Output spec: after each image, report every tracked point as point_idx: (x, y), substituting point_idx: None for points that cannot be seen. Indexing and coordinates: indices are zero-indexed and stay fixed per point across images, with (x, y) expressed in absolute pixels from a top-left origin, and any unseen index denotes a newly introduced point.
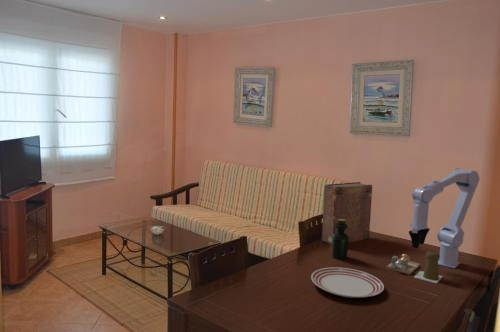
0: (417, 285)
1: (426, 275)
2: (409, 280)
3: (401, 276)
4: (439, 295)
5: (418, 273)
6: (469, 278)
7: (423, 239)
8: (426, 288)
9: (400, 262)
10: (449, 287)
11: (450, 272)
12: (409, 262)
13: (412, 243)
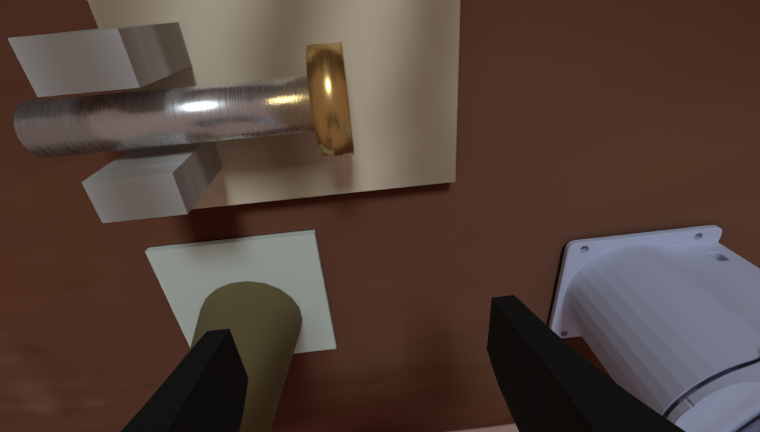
0: (47, 313)
1: (196, 326)
2: (66, 250)
3: (70, 178)
4: (57, 417)
5: (244, 246)
6: (434, 411)
7: (521, 423)
8: (67, 356)
9: (103, 150)
10: None
11: (460, 339)
12: (415, 104)
13: (163, 389)
